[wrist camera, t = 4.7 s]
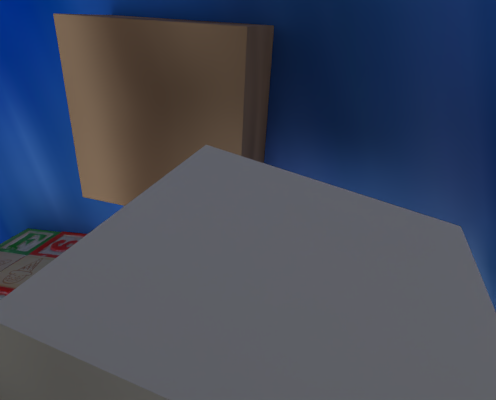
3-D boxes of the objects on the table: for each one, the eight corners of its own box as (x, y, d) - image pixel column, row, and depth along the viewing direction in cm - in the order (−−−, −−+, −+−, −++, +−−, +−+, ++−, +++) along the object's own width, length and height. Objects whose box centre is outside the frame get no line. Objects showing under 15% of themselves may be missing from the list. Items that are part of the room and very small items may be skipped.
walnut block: (275, 25, 16) (247, 26, 13) (262, 193, 20) (237, 229, 16) (115, 15, 18) (53, 13, 15) (129, 168, 22) (82, 196, 18)
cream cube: (460, 226, 7) (612, 598, 2) (362, 392, 9) (351, 726, 5) (205, 144, 8) (-20, 314, 3) (177, 317, 10) (27, 545, 6)
